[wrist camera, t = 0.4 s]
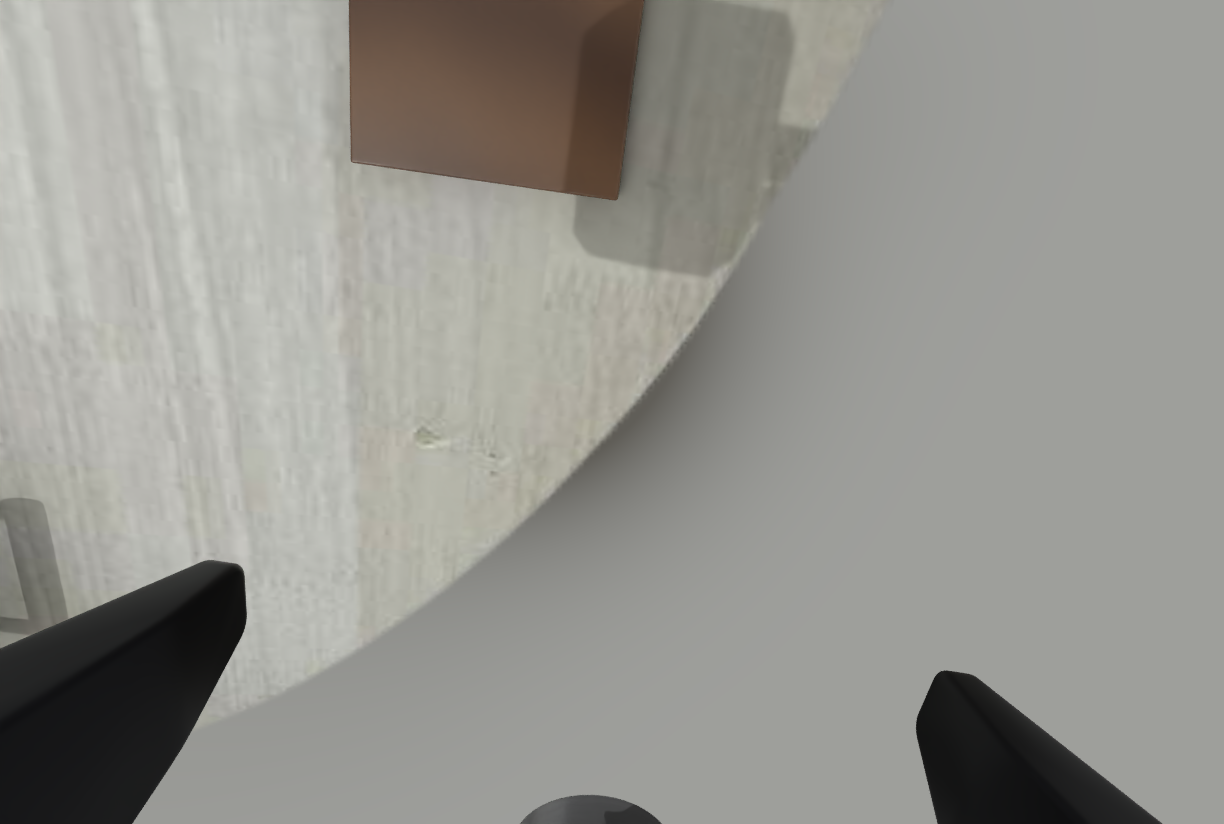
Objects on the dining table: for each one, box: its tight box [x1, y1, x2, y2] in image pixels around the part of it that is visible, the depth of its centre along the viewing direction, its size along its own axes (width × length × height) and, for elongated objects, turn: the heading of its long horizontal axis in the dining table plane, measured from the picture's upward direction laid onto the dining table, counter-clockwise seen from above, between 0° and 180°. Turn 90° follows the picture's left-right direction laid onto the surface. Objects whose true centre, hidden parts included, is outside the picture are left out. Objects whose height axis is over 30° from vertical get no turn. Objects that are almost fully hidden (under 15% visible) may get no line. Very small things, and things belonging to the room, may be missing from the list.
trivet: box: [349, 0, 644, 200], centre depth 17 cm, size 7×7×1 cm
